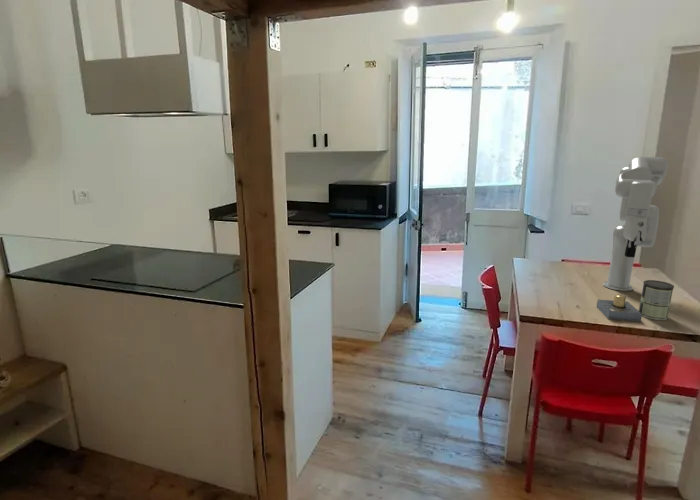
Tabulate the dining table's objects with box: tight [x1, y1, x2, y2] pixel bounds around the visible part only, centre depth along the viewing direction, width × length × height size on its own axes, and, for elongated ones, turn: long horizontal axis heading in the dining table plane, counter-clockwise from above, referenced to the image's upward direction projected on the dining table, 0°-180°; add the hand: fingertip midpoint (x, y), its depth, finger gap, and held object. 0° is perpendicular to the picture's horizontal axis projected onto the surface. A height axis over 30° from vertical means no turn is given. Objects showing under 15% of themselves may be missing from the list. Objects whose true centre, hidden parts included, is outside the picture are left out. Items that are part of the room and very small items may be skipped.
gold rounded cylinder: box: [613, 294, 627, 309], centre depth 179 cm, size 4×4×8 cm
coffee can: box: [638, 279, 675, 321], centre depth 177 cm, size 10×10×14 cm
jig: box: [596, 299, 643, 323], centre depth 180 cm, size 14×12×4 cm
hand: (629, 256), depth 175 cm, fingers closed
